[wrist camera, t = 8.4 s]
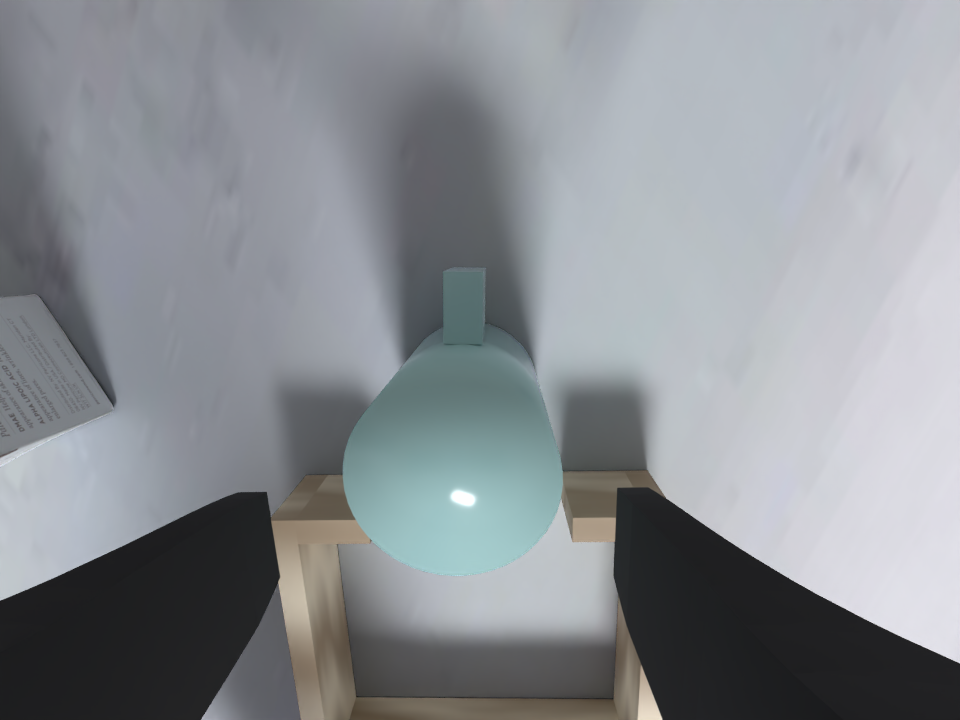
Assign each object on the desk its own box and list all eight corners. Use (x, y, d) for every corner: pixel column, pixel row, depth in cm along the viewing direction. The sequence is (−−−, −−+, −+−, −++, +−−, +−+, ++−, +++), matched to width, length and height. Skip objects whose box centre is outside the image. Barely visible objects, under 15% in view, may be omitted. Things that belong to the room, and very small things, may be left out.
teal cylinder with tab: (541, 266, 18) (575, 281, 10) (534, 448, 20) (556, 579, 12) (402, 265, 18) (329, 278, 10) (407, 445, 20) (349, 572, 12)
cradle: (633, 715, 23) (656, 796, 20) (339, 712, 24) (312, 790, 20) (647, 470, 20) (678, 516, 16) (306, 474, 20) (268, 520, 17)
